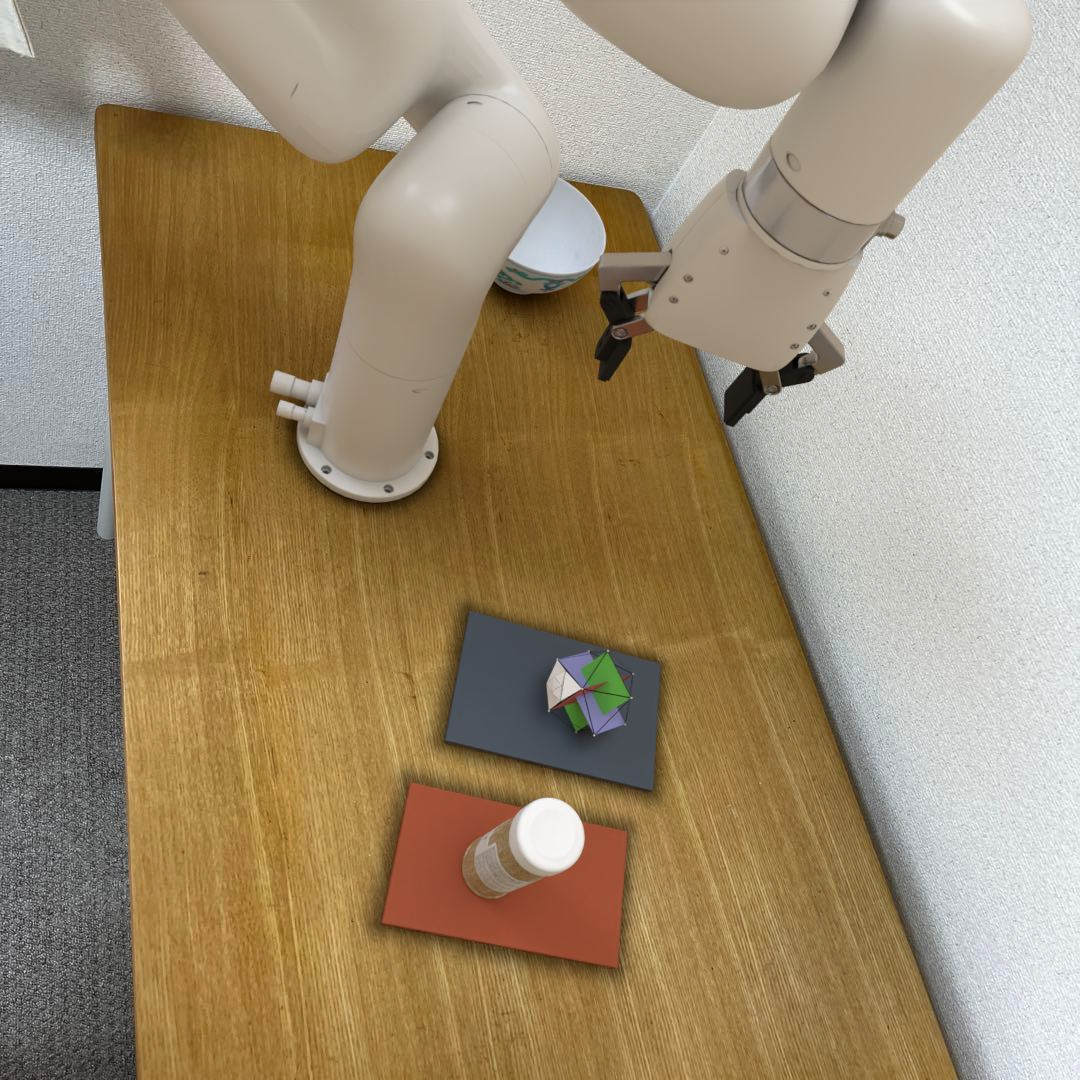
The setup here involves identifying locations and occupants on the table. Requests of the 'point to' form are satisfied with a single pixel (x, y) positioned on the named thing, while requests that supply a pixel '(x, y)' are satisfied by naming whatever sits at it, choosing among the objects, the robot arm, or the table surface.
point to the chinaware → (555, 245)
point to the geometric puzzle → (588, 691)
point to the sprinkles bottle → (524, 849)
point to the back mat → (522, 705)
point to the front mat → (519, 916)
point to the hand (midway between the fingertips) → (666, 388)
